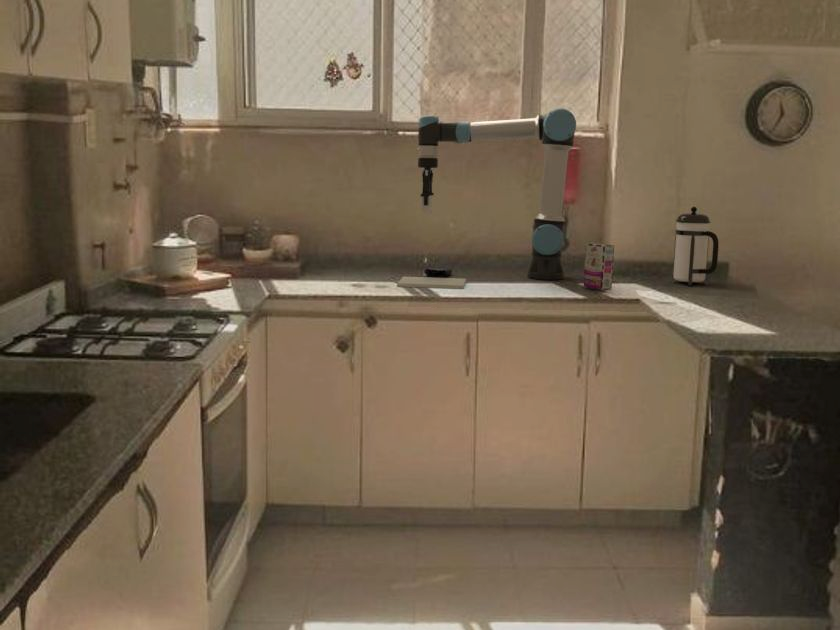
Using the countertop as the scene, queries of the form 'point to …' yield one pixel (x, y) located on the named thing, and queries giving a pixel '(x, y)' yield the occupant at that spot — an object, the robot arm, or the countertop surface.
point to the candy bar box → (598, 266)
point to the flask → (437, 271)
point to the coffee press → (693, 248)
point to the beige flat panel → (432, 282)
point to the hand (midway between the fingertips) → (426, 213)
